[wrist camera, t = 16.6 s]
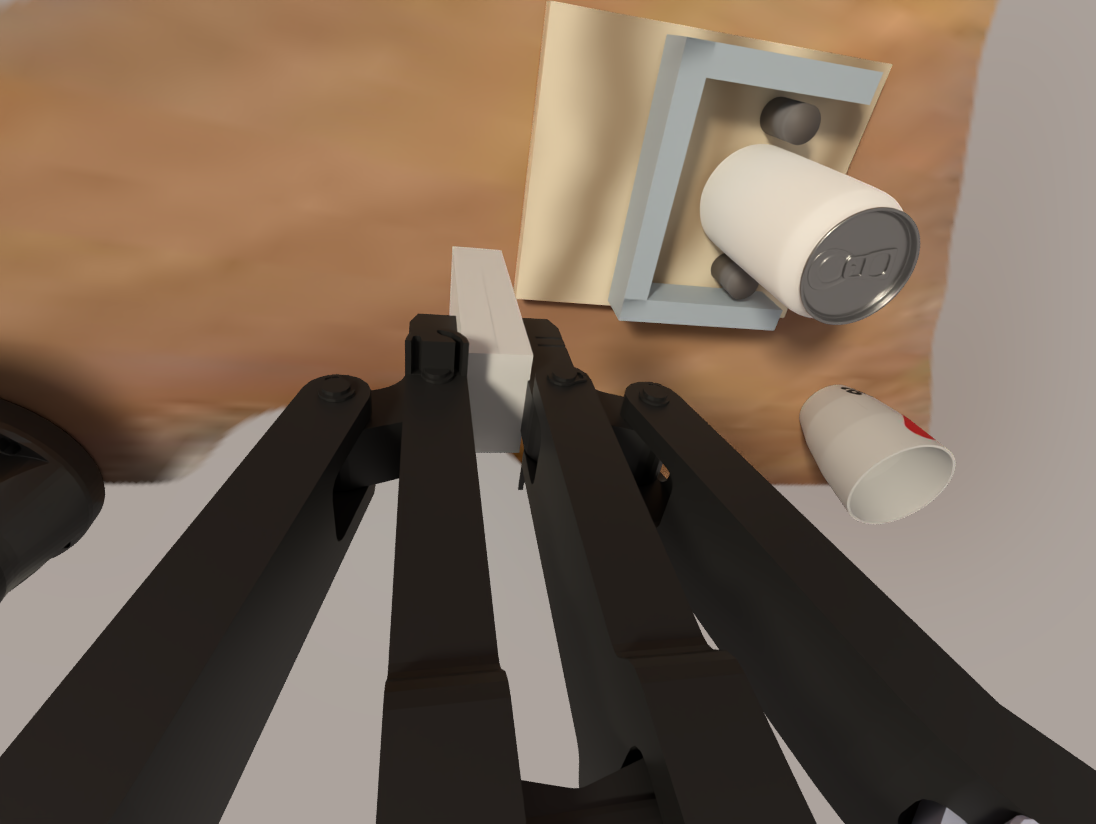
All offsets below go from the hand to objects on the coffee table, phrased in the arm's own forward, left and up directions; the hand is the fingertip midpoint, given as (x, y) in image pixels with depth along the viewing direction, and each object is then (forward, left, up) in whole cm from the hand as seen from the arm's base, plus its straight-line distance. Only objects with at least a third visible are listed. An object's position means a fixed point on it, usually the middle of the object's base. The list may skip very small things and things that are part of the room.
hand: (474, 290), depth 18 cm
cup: (+33, -17, -19) cm, 42 cm away
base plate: (+14, 0, -19) cm, 23 cm away
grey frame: (+16, 0, -17) cm, 23 cm away
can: (+18, 0, -17) cm, 25 cm away
